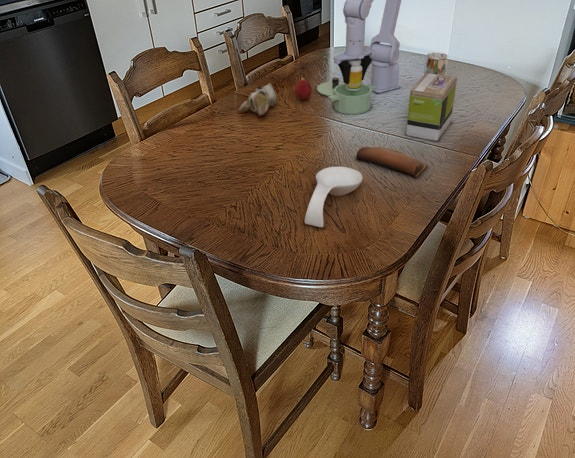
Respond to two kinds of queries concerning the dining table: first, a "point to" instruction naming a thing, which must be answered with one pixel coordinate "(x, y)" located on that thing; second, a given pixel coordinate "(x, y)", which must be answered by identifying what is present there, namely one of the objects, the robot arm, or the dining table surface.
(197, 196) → the dining table surface
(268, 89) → the ceramic sculpture
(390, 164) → the sunglasses case
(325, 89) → the lid
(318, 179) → the spoon rest
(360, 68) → the supplement bottle
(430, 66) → the beer glass
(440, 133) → the tea box
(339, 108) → the pot
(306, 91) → the onion
